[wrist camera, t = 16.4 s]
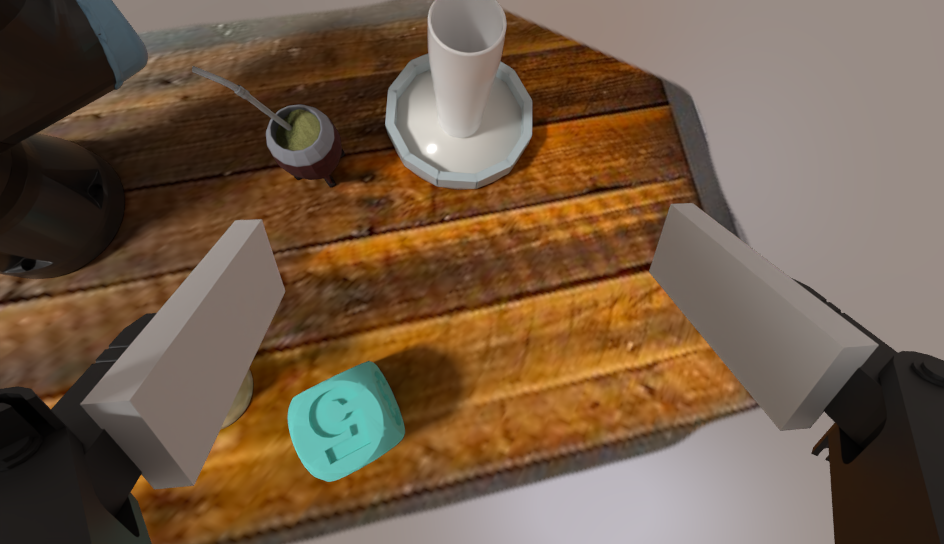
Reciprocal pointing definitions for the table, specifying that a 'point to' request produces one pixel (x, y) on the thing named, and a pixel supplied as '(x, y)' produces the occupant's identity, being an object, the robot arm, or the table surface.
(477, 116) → the drinking glass
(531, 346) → the table surface
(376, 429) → the decorative dice
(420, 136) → the dish
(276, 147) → the mate gourd
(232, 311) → the robot arm
